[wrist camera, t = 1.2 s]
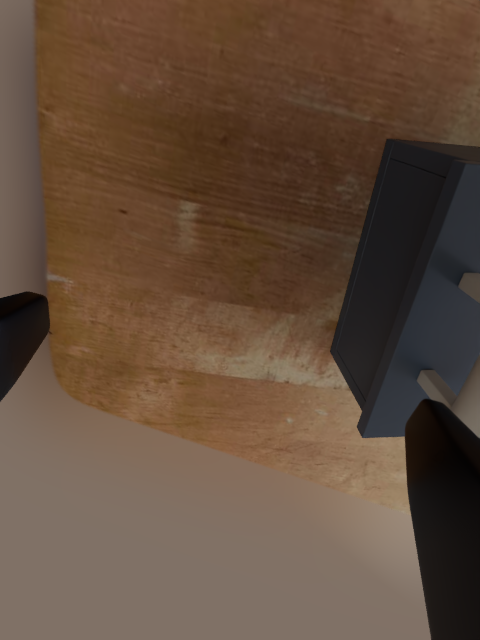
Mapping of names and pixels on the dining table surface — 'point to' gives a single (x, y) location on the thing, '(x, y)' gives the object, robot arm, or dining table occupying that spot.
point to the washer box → (389, 252)
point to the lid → (436, 319)
